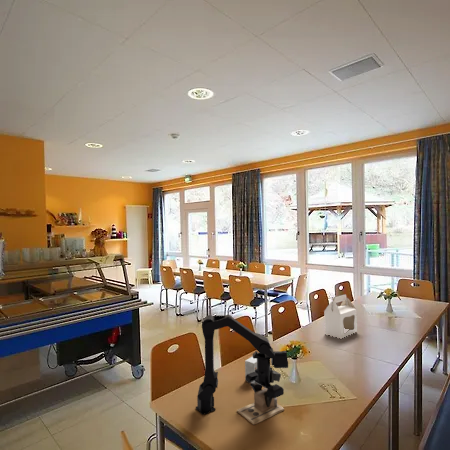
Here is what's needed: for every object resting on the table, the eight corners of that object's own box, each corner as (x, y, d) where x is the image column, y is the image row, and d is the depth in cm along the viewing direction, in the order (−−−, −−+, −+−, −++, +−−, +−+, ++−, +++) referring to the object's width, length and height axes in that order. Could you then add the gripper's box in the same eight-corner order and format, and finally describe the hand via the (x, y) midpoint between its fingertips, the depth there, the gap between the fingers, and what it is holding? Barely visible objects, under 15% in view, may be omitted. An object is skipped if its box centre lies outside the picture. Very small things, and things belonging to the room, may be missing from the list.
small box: (253, 375, 165) (253, 355, 165) (262, 378, 161) (262, 358, 161) (244, 381, 159) (244, 360, 159) (254, 384, 155) (253, 363, 155)
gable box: (340, 328, 240) (339, 292, 241) (357, 332, 230) (356, 294, 231) (324, 334, 226) (323, 296, 227) (341, 339, 216) (340, 299, 217)
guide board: (253, 424, 123) (253, 415, 123) (237, 411, 132) (236, 402, 132) (284, 410, 132) (284, 401, 133) (266, 398, 142) (266, 390, 142)
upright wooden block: (262, 412, 129) (261, 397, 129) (254, 406, 133) (254, 392, 134) (274, 406, 133) (274, 392, 133) (266, 401, 137) (266, 387, 138)
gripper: (292, 370, 131) (293, 407, 130) (263, 356, 146) (263, 389, 146) (273, 377, 124) (274, 417, 124) (244, 362, 140) (245, 396, 139)
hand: (264, 404), depth 133 cm, fingers closed on upright wooden block, 5 cm apart
